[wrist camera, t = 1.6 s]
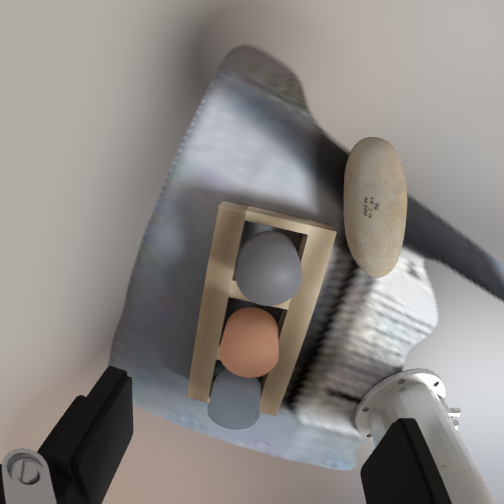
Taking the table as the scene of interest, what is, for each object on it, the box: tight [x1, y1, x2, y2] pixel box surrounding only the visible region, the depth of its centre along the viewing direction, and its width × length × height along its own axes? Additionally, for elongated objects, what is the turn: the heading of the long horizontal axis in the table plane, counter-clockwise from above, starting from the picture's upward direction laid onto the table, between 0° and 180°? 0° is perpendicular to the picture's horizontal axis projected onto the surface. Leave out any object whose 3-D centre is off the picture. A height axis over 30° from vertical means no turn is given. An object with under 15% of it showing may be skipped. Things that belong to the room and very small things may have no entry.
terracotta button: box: [219, 307, 279, 378], centre depth 27 cm, size 5×5×4 cm
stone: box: [343, 137, 407, 278], centre depth 26 cm, size 6×6×12 cm
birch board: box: [187, 201, 337, 416], centre depth 31 cm, size 10×21×3 cm, turn 168°
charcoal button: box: [236, 231, 302, 306], centre depth 25 cm, size 5×5×4 cm
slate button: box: [208, 370, 261, 429], centre depth 29 cm, size 5×5×4 cm
